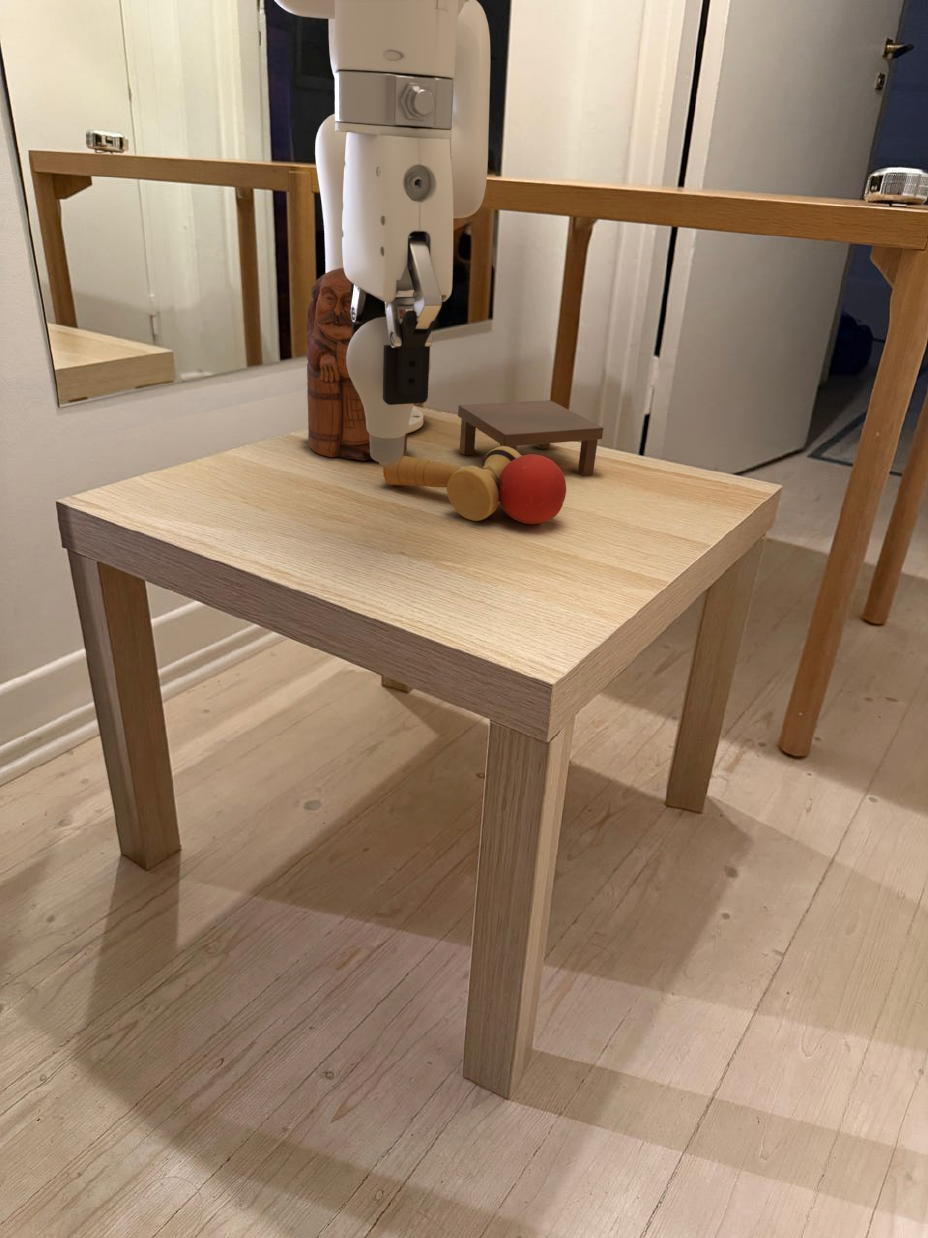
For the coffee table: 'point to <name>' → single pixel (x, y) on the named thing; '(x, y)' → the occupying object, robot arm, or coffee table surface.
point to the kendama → (490, 484)
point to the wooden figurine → (334, 373)
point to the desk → (530, 427)
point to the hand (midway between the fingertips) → (388, 387)
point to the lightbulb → (377, 392)
